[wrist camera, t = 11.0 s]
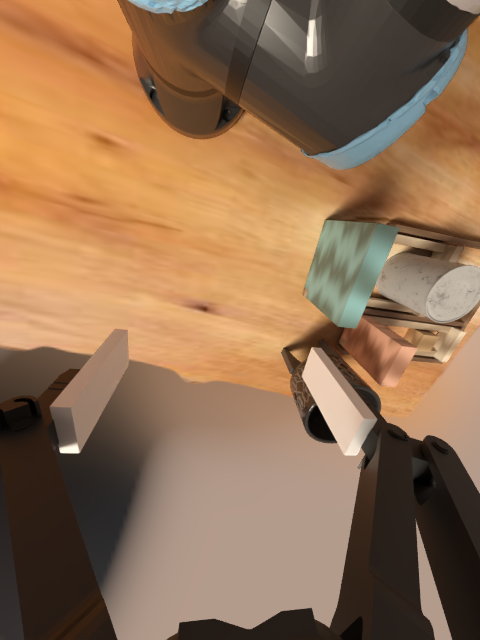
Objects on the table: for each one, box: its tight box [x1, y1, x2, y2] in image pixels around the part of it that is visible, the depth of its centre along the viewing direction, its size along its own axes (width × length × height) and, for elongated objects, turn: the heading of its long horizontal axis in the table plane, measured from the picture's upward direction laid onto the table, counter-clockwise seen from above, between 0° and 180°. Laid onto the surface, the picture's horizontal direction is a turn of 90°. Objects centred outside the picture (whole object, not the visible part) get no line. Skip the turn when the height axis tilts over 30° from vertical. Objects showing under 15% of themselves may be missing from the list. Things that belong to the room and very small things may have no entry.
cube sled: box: [339, 313, 466, 387], centre depth 46 cm, size 8×26×14 cm, turn 80°
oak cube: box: [404, 328, 439, 352], centre depth 52 cm, size 4×4×4 cm
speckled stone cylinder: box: [376, 252, 480, 323], centre depth 41 cm, size 10×10×12 cm
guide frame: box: [336, 224, 480, 364], centre depth 49 cm, size 27×27×2 cm
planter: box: [281, 339, 381, 443], centre depth 45 cm, size 13×13×18 cm
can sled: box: [303, 220, 464, 329], centre depth 39 cm, size 14×26×14 cm, turn 80°
